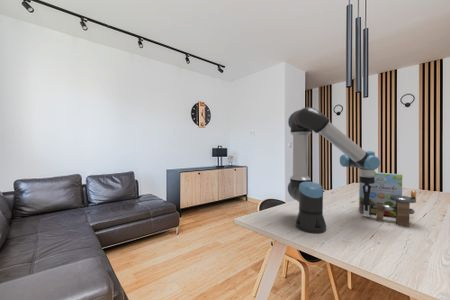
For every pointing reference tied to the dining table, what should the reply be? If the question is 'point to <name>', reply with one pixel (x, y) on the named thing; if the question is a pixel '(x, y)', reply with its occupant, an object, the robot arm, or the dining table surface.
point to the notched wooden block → (401, 213)
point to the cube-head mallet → (385, 207)
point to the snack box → (383, 191)
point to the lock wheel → (405, 198)
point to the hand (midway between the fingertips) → (366, 214)
